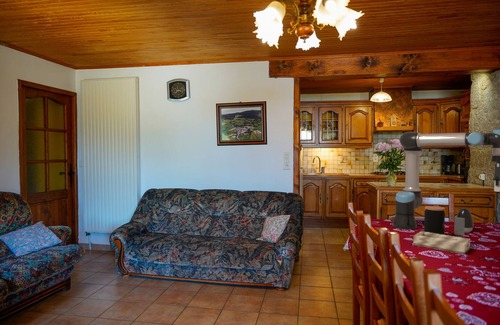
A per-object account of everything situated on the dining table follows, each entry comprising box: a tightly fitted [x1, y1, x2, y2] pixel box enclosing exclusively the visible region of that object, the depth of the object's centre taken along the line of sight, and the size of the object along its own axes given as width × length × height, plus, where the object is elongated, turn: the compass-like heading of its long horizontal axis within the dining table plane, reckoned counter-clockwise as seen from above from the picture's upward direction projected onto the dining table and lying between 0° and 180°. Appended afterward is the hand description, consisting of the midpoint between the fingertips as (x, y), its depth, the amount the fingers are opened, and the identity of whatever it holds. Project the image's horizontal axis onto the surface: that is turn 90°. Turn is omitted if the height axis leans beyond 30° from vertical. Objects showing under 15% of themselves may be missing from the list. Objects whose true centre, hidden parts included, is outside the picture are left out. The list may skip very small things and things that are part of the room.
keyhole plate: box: [412, 230, 471, 255], centre depth 178 cm, size 24×14×5 cm, turn 47°
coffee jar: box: [423, 205, 446, 235], centre depth 197 cm, size 11×11×18 cm
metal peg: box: [453, 217, 465, 238], centre depth 183 cm, size 5×5×14 cm
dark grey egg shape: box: [455, 207, 474, 234], centre depth 211 cm, size 10×10×15 cm
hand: (498, 190), depth 199 cm, fingers open, 13 cm apart
